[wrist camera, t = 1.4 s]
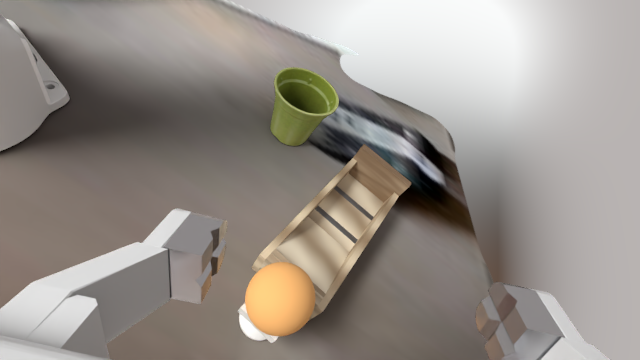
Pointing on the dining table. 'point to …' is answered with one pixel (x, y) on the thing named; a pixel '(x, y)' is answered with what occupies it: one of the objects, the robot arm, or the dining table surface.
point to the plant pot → (300, 104)
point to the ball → (280, 299)
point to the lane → (337, 224)
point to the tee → (252, 327)
